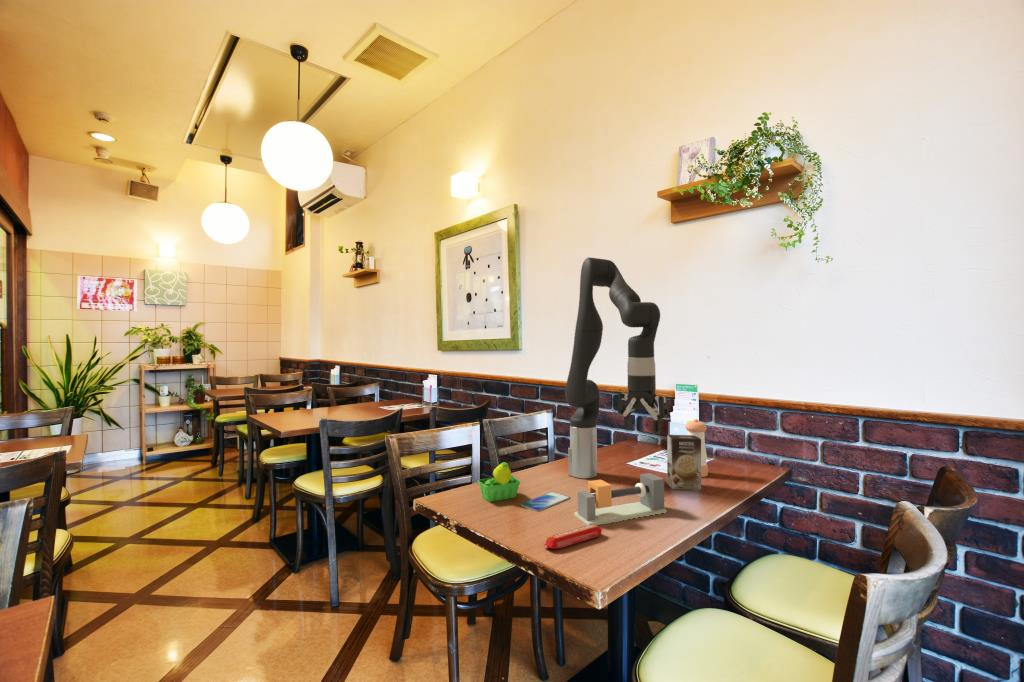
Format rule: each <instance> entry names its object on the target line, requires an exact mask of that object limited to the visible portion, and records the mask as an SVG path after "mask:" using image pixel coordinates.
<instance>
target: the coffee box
mask: <svg viewBox="0 0 1024 682" xmlns="http://www.w3.org/2000/svg"><path fill="white" fill-rule="evenodd" d="M666 440H667V454H666V455H667V456H666V457H667V458H666V460H667V461H666V464H667V467H666V469H667V470H666V471H667V472H666V484H667V485H668V486H669V488H670V489H672V490H689V489H691V490H692V491H693V490H695V491H697V490H698V491H701V490H702V477H701V439H700V438H699V437H697V436H695V435H688V434H667V439H666Z"/></svg>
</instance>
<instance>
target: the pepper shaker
mask: <svg viewBox="0 0 1024 682" xmlns="http://www.w3.org/2000/svg"><path fill="white" fill-rule="evenodd" d="M707 427H708V426H707V425H706V422H705V423H704V422H703V421H699V419H698V418H695V419H693V420H690V421H688V422H686V424H685V429H686V431H687V435H695V436H697V437H699V438H700V439H701V478H703V477H704V478H705V477H707V476H708V475H709V471H708V469H709V466H708V464H707V462H708V461H707V459H708V458H707V450H706V444H705V442H706V441H705V435H706V434H705V432H706V431H707V429H708V428H707Z"/></svg>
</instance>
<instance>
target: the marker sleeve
mask: <svg viewBox="0 0 1024 682" xmlns="http://www.w3.org/2000/svg"><path fill="white" fill-rule="evenodd" d="M611 490H612V484H610V483H608V482H606V481H605V480H602V479H595V480H588V481H587V492H589V493H596V501H595V508H596V509H599V508H605V507H611V506H613V505H612V498H611Z"/></svg>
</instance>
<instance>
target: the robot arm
mask: <svg viewBox="0 0 1024 682" xmlns="http://www.w3.org/2000/svg"><path fill="white" fill-rule="evenodd" d="M579 277H580V278H579V279H580V280H579V281H580V282H579V296H578V297H579V299H578V301H579V302H578V309H577V316H576V317H577V318H576V322H575V330H574V337H573V338H574V339H573V347H572V355H571V362H570V367H569V372H568V375H567V381H566V384H565V390H564V397H565V400H566V402H567V404H568V405H569V406H570V407H572V408H575V409H576V410H575V412H574V414H573V415H571V417H570V418H569V447H568V451H567V452H568V454H567V455H568V456H567V457H568V460H567V461H568V476H570V477H574V478H578V479H593V478H595V477H597V476H598V456H597V455H598V452H597V451H598V449H597V448H598V447H597V443H598V441H597V439H598V437H597V435H598V434H597V421H598V418H599V416H600V391H599V387H598V385H597V383H596V382H595V381H593V380H592V379H588V375H589V371H590V367H591V364H592V362H593V361H594V360H595V357H597V353H598V352H599V349H600V347H601V345H602V339H603V330H604V326H603V325H604V324H603V321H602V317H601V316H600V313H599V311H598V309H597V307H596V305H595V304H596V303H595V301H594V294H593V293H594V287H600V288H602V287H603V288H604V287H606V288H609V292H608V296H609V299H610V301H611V303H612V304H613V305H614V306H615V307H616V309H617V310H618V312H619V317H620V319H621V323H622V324H623V325H624V326H626V327H628V328H642V331H641V332H640V334H638V335H634V336H631V337H629V338H628V341H627V357H628V358H627V372H626V373H627V390H628V393H626V392H619V393H618V395H617V396H618V397H617V413H618V414H619V415H622V416H623V417H624V418H623V419H624V421H623V425H624V428H625V430H626V431H632V429H633V416H631V415H632V414H633V413H634V411H636V410H637V411H638V410H641V411H647V412H648V413H649V414H650V416H651V417H652V418H653V420H652V422H653V423H652V424H653V425H652V429H653V435H658V434H660V433H661V432H662V419H666V418H668V417H669V409H668V397H667V395H661V396H660V395H659V396H658V395H656V391H657V390H656V389H657V387H656V383H657V382H656V380H657V378H656V361H655V340H656V336H657V332H658V328H659V325H660V324H659V323H660V320H661V310H660V308H659V306H658V304H656V303H654V302H652V301H650V302H649V301H645V302H644V301H641V296H639V294H638V293H637V292H636V291H635V290H634V289H633V288H632V287H631V286H630V285H629V284H628V283H627V282H626V280H625V279H624V277H623V275H622V272H620V270H619V268H618V266H617V265H616V264H615V263H614V262H613V260H610V259H606V258H605V259H604V258H599V257H598V258H597V257H586V258H585V259H584V261H582V265H581V269H580V276H579ZM627 401H629V403H628V405H627ZM655 403H657V404H658V407H657V405H656V404H655Z"/></svg>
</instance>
